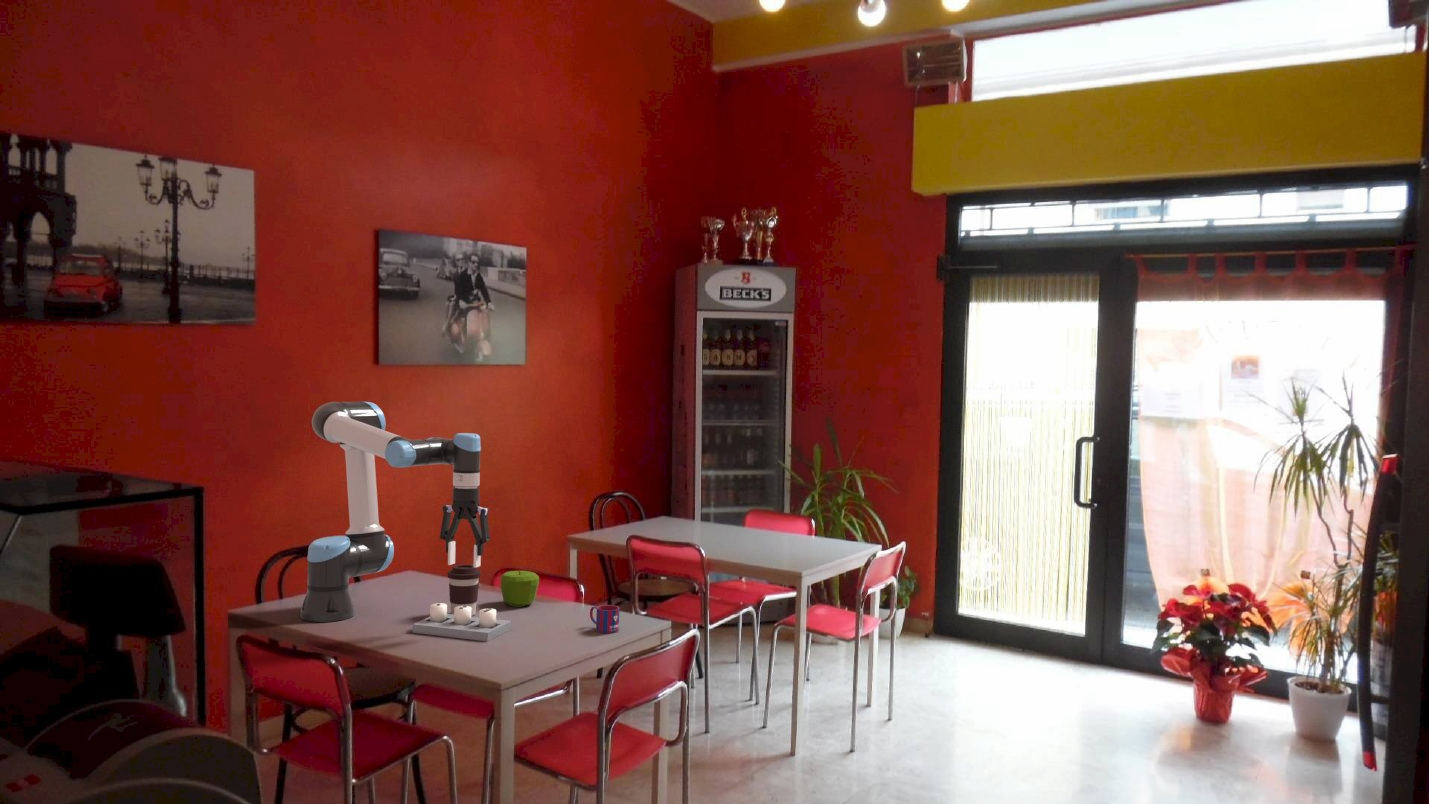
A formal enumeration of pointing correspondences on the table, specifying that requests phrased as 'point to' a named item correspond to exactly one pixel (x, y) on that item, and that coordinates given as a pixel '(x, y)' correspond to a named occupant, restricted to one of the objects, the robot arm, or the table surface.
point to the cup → (606, 618)
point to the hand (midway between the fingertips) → (464, 565)
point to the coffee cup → (464, 586)
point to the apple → (519, 587)
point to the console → (461, 628)
